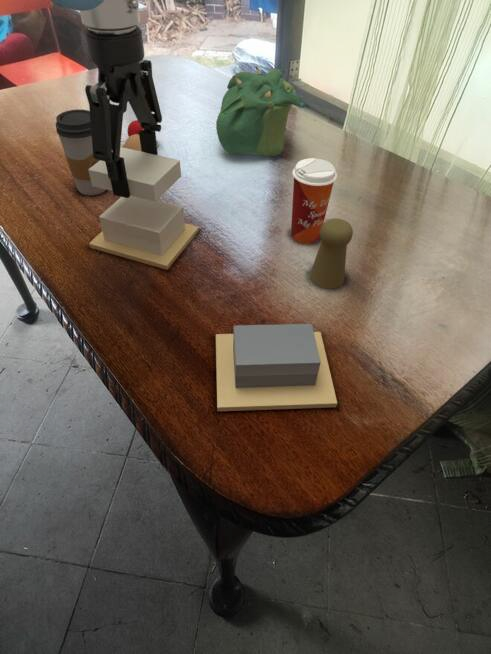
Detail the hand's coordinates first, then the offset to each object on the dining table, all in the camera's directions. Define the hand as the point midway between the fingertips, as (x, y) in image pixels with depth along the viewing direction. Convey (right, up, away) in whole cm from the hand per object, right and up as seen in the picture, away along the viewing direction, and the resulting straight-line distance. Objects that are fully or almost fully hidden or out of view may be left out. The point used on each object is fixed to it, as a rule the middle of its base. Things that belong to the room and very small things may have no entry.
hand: (137, 181), depth 77 cm
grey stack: (+22, -31, -12) cm, 40 cm away
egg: (-5, +11, +26) cm, 29 cm away
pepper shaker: (+33, -16, +3) cm, 37 cm away
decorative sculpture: (+21, +19, +35) cm, 45 cm away
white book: (0, 0, 0) cm, 0 cm away
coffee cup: (-14, +5, +21) cm, 26 cm away
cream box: (0, -8, +9) cm, 12 cm away
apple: (-7, +20, +35) cm, 40 cm away
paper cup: (+30, -7, +11) cm, 33 cm away
